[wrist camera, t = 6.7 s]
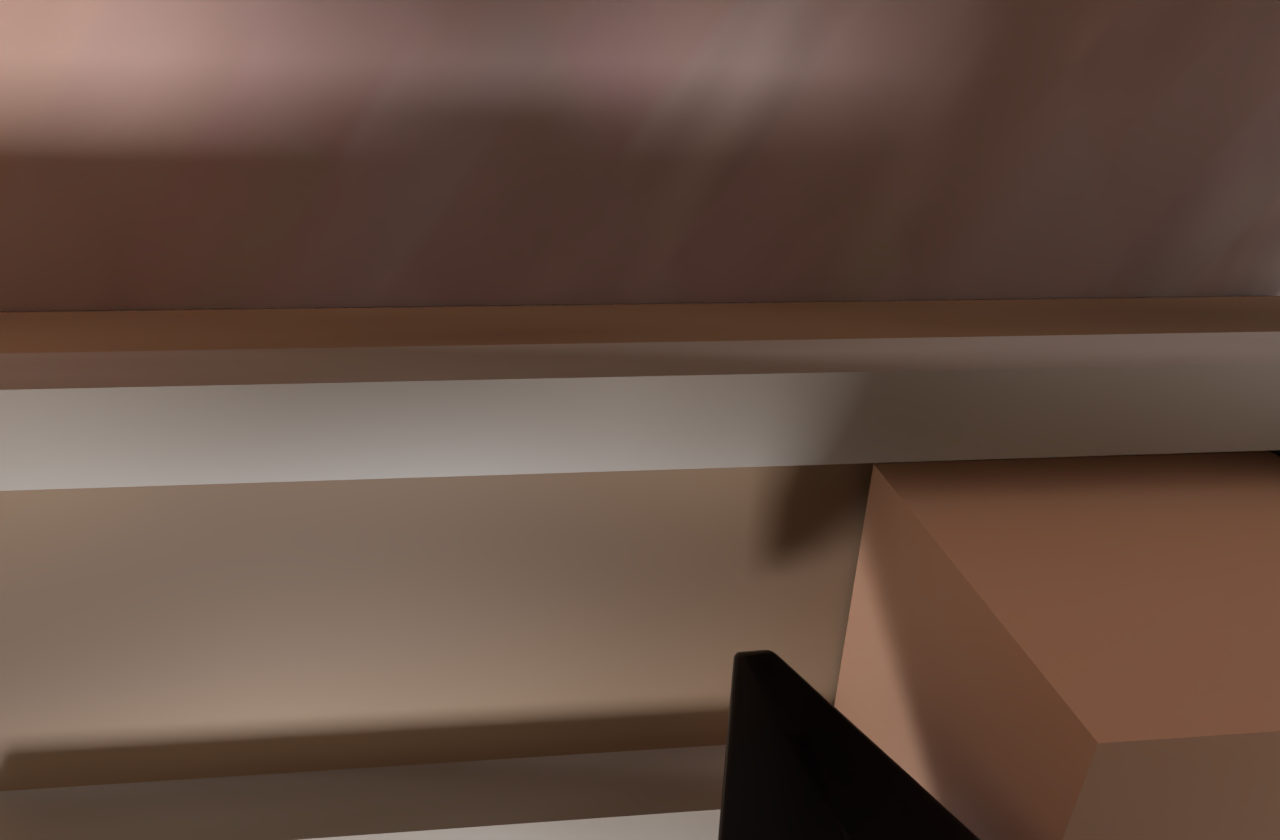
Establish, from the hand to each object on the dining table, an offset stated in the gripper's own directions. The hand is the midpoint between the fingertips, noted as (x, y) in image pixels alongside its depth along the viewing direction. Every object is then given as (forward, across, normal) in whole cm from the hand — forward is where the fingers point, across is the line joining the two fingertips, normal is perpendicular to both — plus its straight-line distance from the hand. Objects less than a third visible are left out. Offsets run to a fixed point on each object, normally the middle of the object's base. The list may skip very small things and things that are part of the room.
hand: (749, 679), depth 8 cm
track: (+3, 0, 0) cm, 3 cm away
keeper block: (+1, -4, 0) cm, 4 cm away
